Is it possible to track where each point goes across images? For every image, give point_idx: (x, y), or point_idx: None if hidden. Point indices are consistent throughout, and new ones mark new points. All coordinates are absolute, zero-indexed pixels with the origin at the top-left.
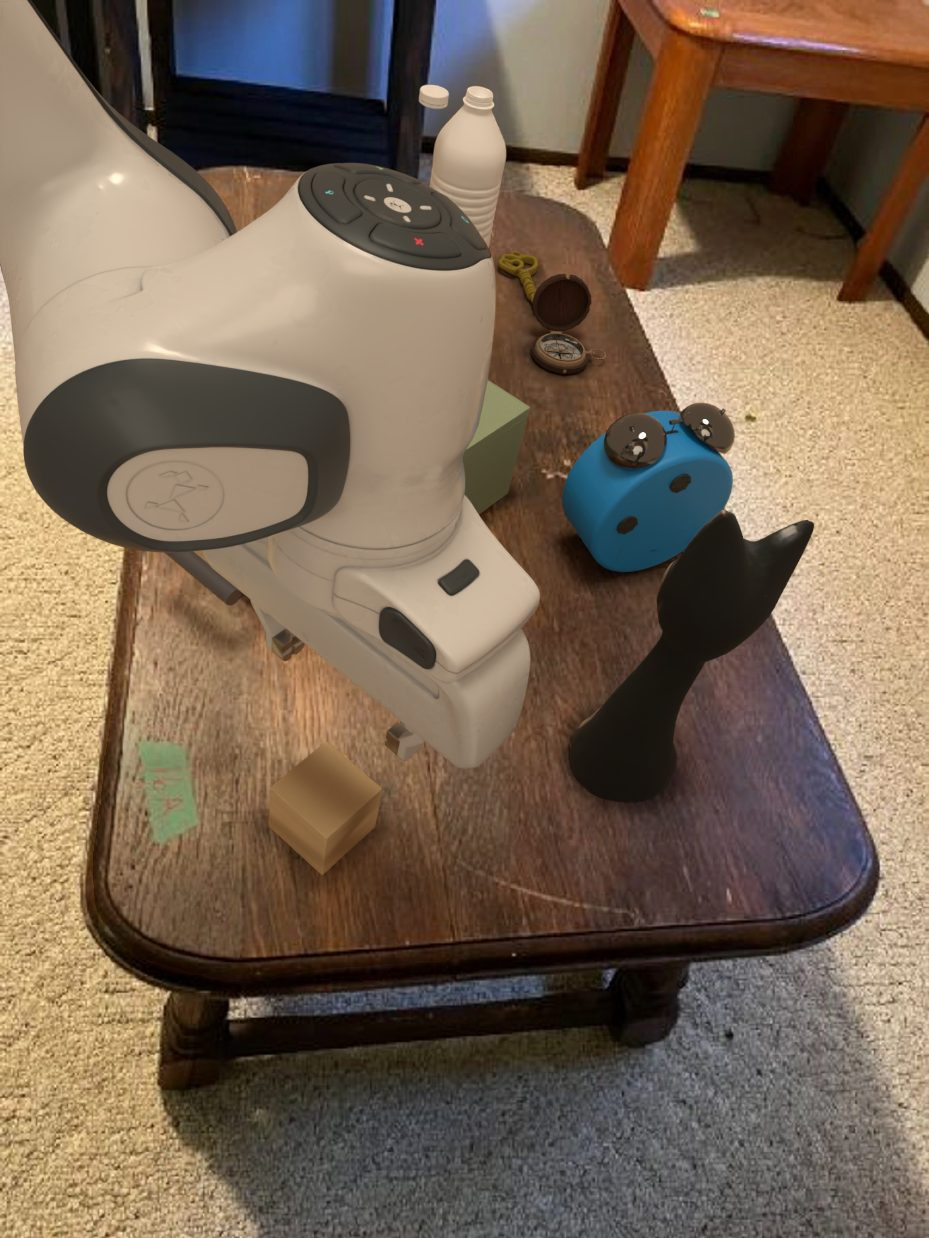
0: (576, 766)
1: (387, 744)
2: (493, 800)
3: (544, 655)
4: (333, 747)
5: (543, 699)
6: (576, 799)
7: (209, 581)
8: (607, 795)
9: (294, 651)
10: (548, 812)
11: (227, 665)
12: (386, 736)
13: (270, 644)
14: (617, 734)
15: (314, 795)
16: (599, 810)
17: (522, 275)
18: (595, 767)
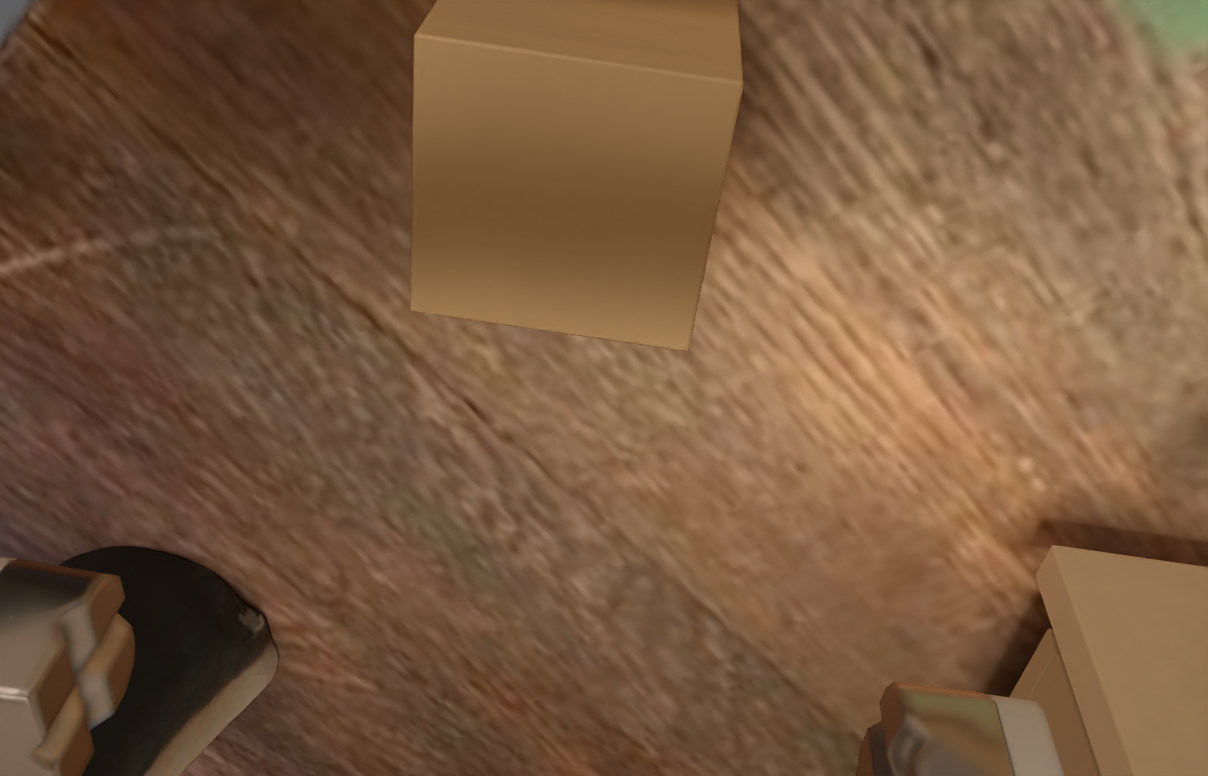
0: (180, 590)
1: (67, 596)
2: (280, 419)
3: (465, 748)
4: (650, 343)
5: (389, 670)
6: (142, 517)
7: None
8: (89, 562)
9: (882, 745)
10: (160, 460)
11: (1190, 368)
12: (53, 649)
13: (1019, 753)
14: None
15: (576, 156)
16: (84, 521)
17: None
18: None
